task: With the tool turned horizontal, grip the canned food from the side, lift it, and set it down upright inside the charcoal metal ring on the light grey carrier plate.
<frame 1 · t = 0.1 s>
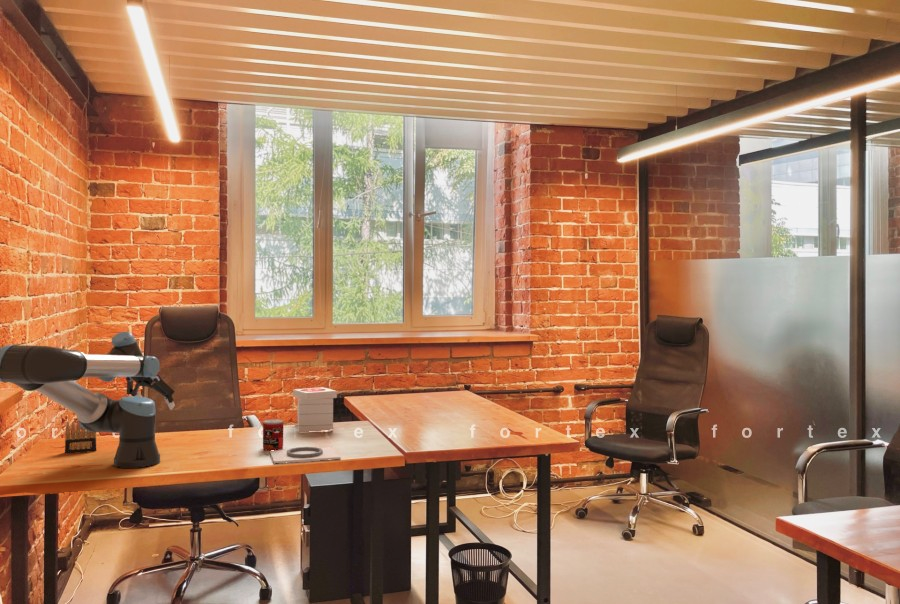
hand: (157, 406, 276), 15 cm above the table, tool tilted 35°, fingers open, 13 cm apart
ammunition clip: (80, 452, 262), on the table
canned food: (273, 449, 271), on the table
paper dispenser: (313, 427, 317), on the table
carrier plate: (304, 456, 258), on the table
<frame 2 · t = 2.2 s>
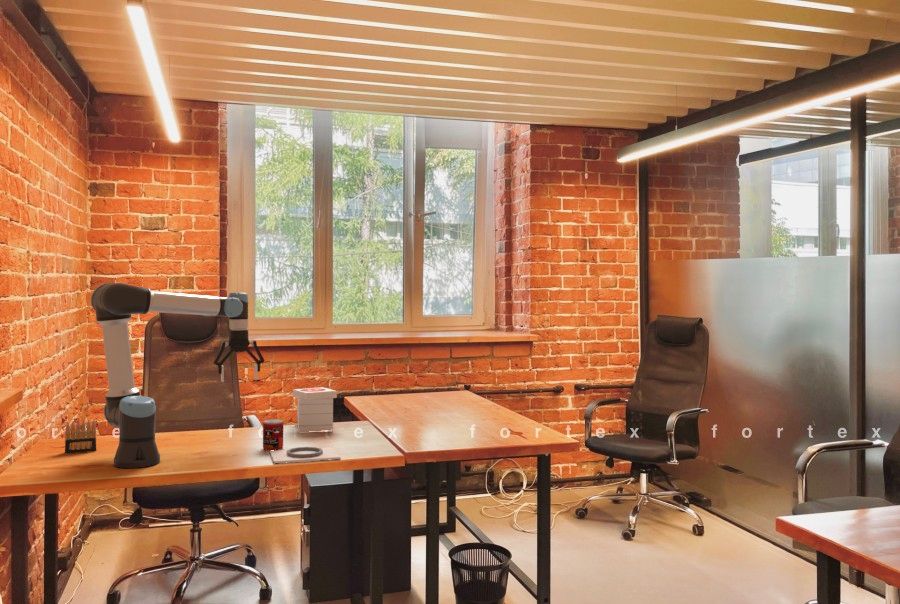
hand: (239, 380, 285), 25 cm above the table, tool pointing down, fingers open, 13 cm apart
nothing on the table moved.
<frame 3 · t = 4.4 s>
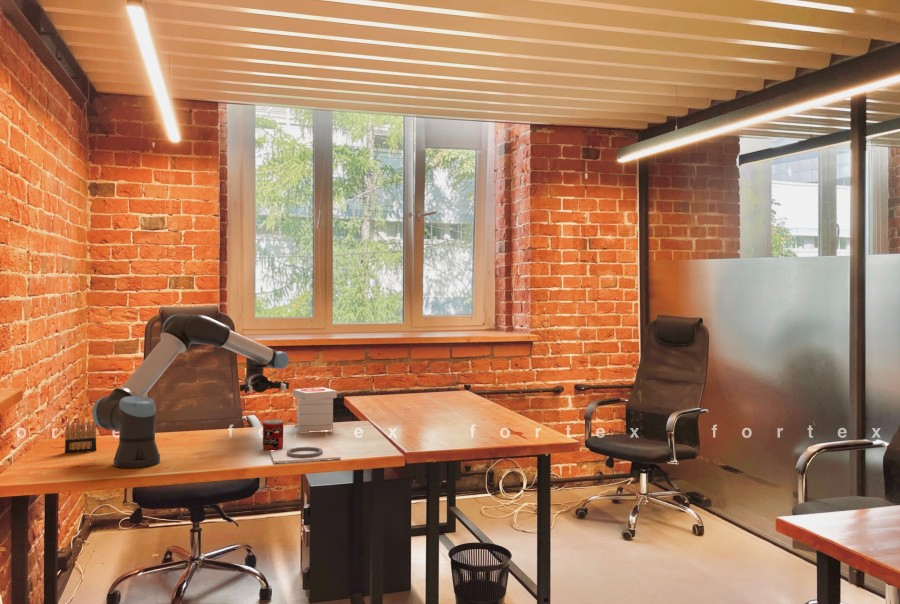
hand: (268, 389, 280), 22 cm above the table, tool horizontal, fingers open, 13 cm apart
nothing on the table moved.
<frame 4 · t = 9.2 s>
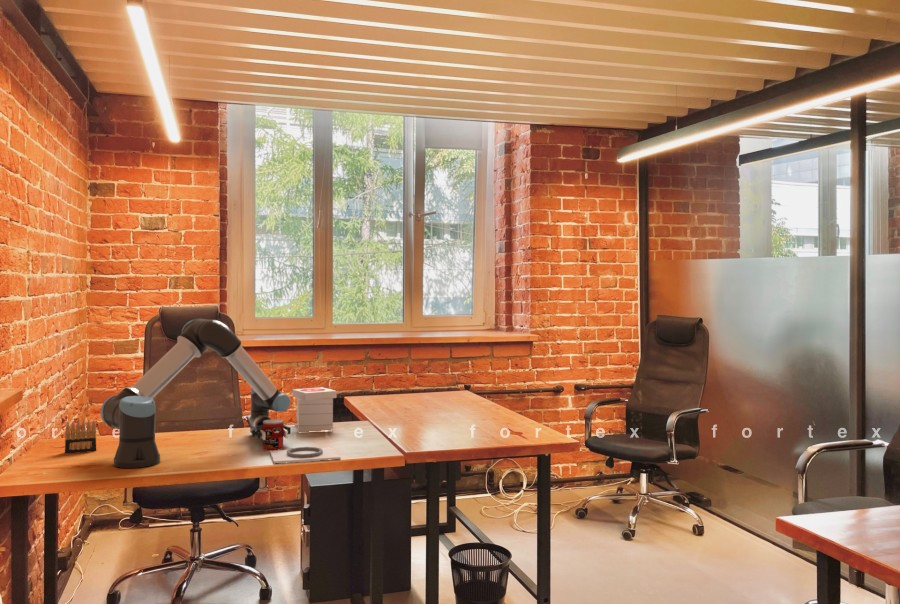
hand: (275, 435, 267), 6 cm above the table, tool horizontal, fingers closed on canned food, 8 cm apart
canned food: (273, 449, 271), on the table, touching gripper
everything else where it was.
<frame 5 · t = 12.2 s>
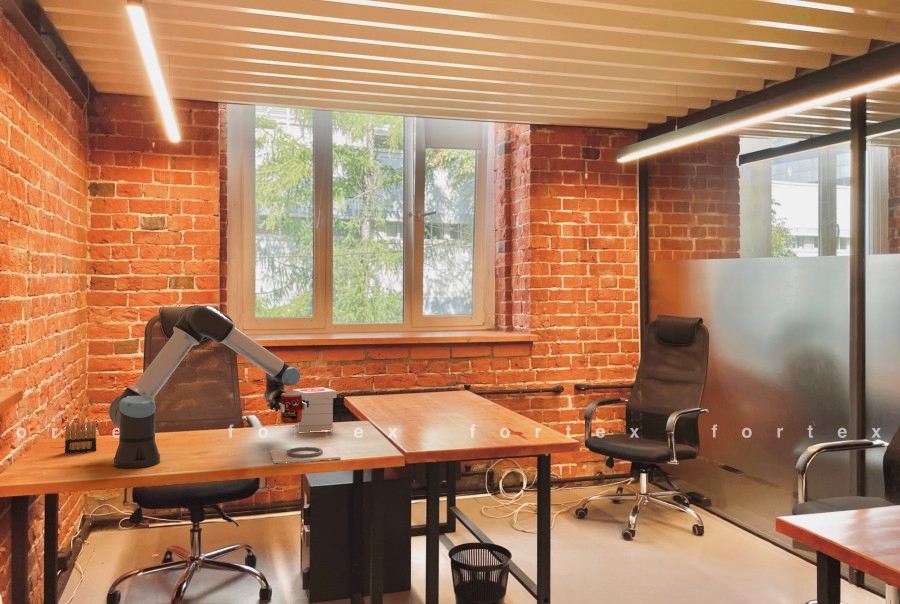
hand: (294, 408, 262), 18 cm above the table, tool horizontal, fingers closed on canned food, 8 cm apart
canned food: (291, 422, 266), point 11 cm above the table, touching gripper
everything else where it was.
when the fingers open (8 cm above the table, at t = 15.4 s): canned food drops 1 cm, resting on carrier plate.
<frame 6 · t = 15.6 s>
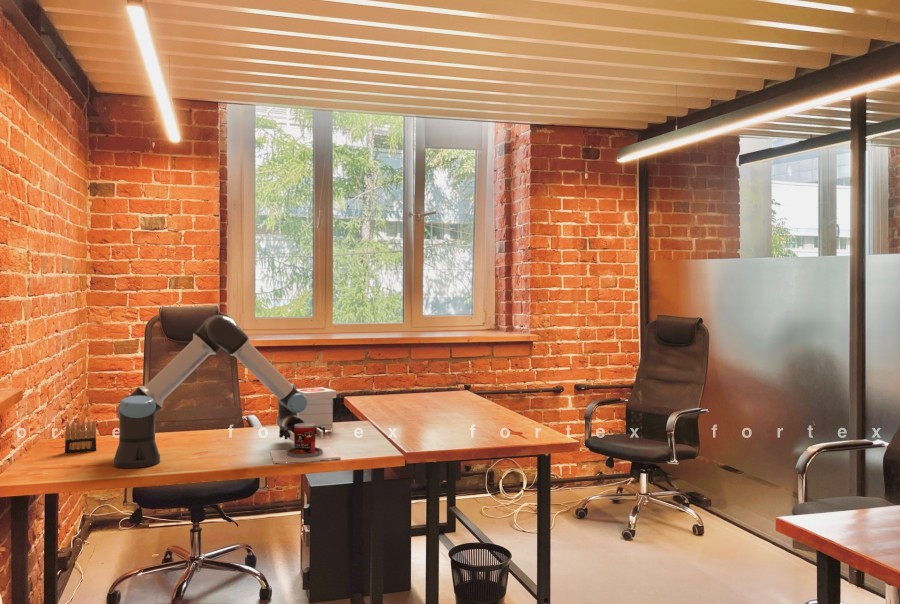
hand: (307, 436, 255), 8 cm above the table, tool horizontal, fingers open, 10 cm apart
canned food: (304, 454, 258), point 1 cm above the table, touching carrier plate
everything else where it was.
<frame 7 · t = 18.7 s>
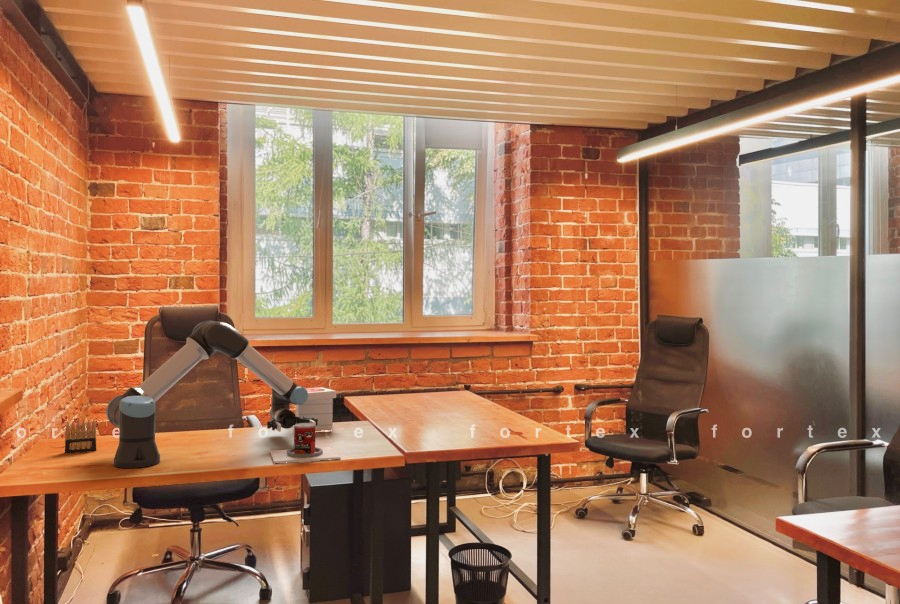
hand: (297, 426, 267), 9 cm above the table, tool horizontal, fingers open, 13 cm apart
nothing on the table moved.
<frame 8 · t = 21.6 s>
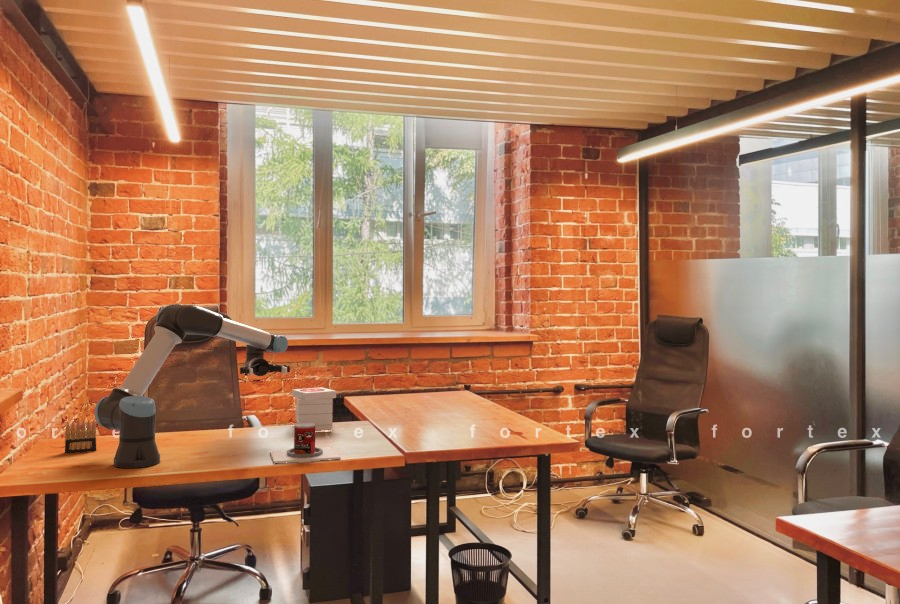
hand: (269, 371, 276), 30 cm above the table, tool horizontal, fingers open, 13 cm apart
nothing on the table moved.
at the end: canned food 0.1 cm off-centre on the carrier plate, point 0.8 cm above the carrier plate's base; canned food tilted 0°; the gripper is holding nothing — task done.
